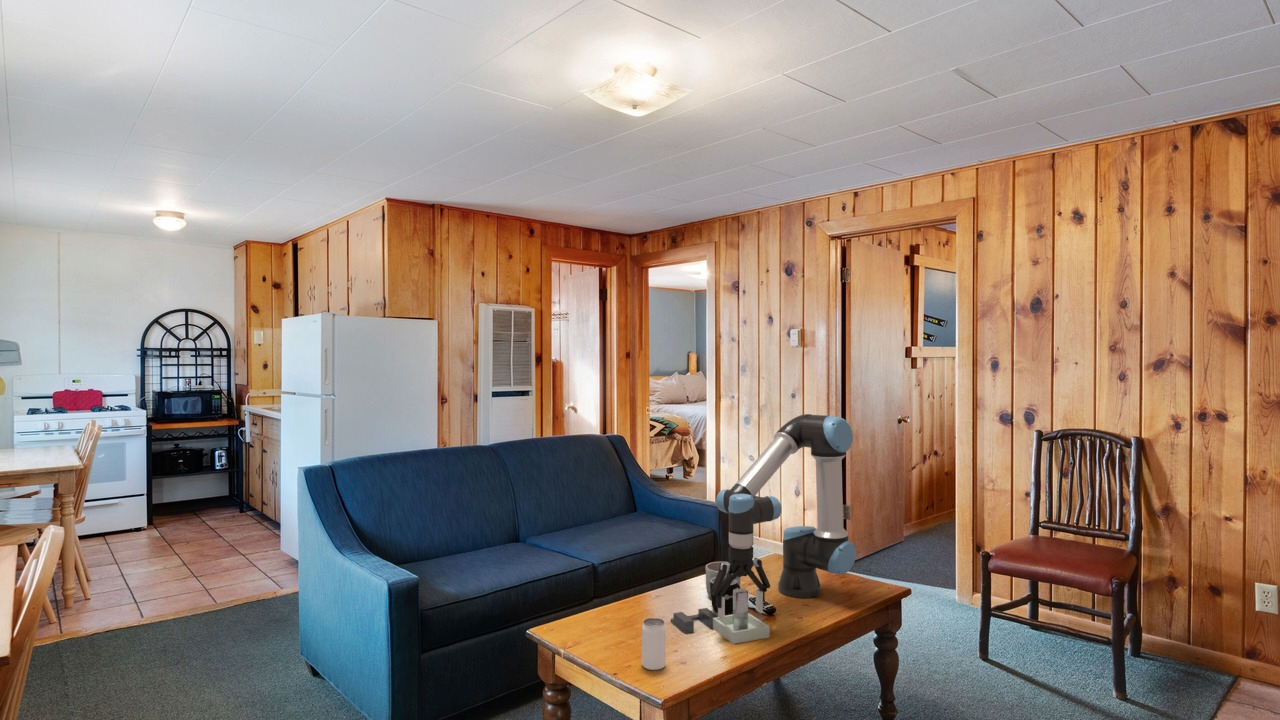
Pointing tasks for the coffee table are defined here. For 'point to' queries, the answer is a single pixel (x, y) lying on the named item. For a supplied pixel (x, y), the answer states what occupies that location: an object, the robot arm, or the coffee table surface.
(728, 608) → the mug
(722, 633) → the tray
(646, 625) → the can
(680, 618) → the hitch clevis
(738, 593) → the pin
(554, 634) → the coffee table surface
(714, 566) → the planter
